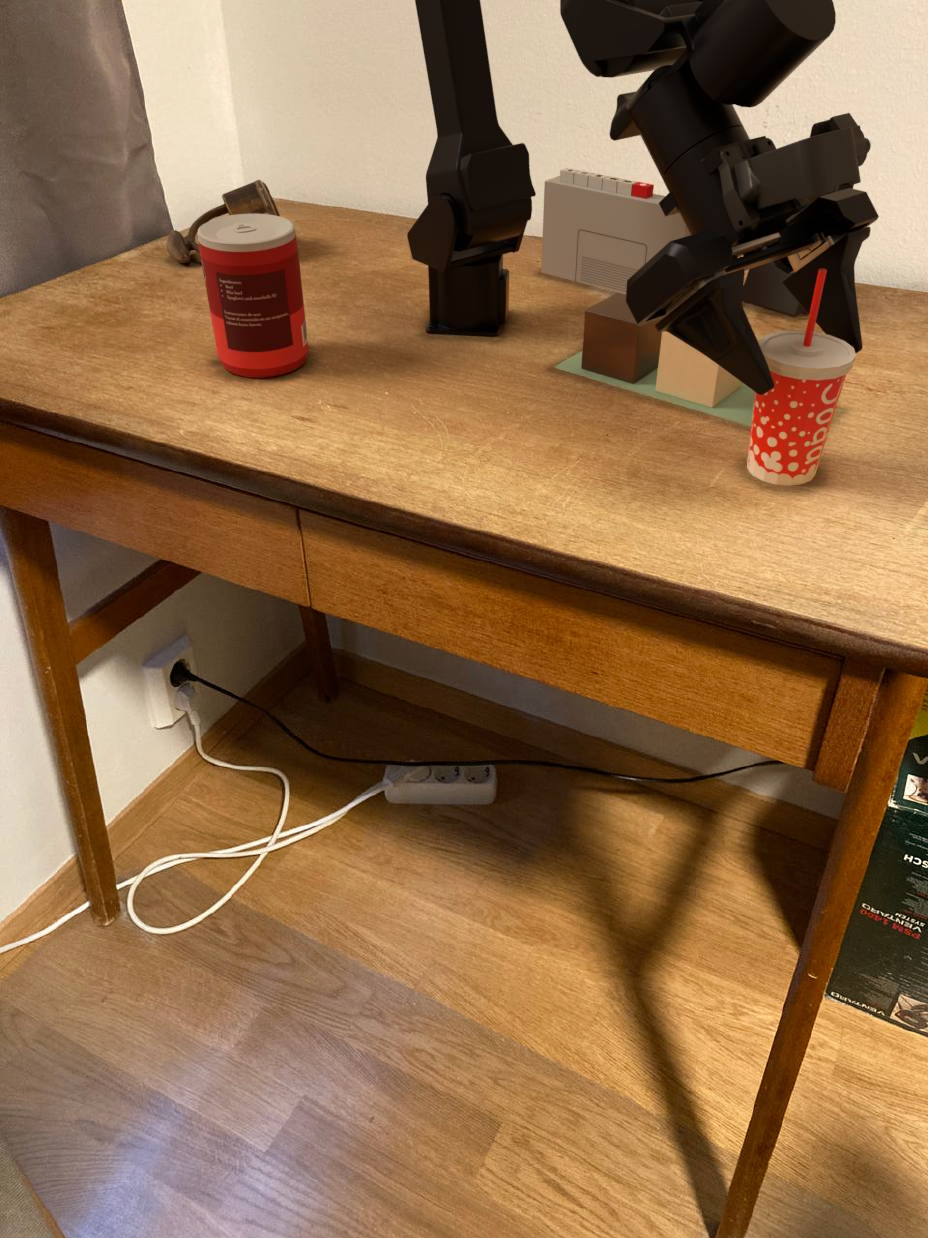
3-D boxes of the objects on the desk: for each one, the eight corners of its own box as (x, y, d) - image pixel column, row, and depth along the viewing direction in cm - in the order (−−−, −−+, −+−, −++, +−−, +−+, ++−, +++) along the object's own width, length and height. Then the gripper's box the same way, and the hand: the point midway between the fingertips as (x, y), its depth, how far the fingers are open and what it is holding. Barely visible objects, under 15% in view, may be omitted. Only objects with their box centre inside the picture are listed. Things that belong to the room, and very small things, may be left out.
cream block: (655, 391, 79) (662, 329, 76) (685, 369, 82) (693, 310, 79) (712, 408, 77) (722, 345, 74) (741, 385, 80) (752, 325, 77)
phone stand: (793, 320, 91) (820, 180, 84) (737, 302, 95) (759, 167, 87) (845, 295, 96) (875, 161, 89) (791, 279, 100) (815, 150, 92)
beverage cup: (771, 502, 66) (815, 293, 58) (717, 461, 71) (750, 261, 62) (845, 482, 68) (898, 277, 60) (788, 444, 73) (829, 248, 64)
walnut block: (580, 368, 83) (584, 309, 80) (612, 349, 86) (617, 291, 83) (633, 384, 80) (639, 323, 77) (664, 363, 83) (671, 304, 80)
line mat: (553, 370, 83) (553, 366, 83) (598, 343, 87) (599, 340, 87) (798, 444, 73) (799, 440, 72) (836, 410, 77) (837, 406, 77)
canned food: (273, 334, 90) (256, 206, 83) (328, 360, 85) (316, 227, 78) (200, 359, 86) (176, 227, 79) (254, 387, 81) (234, 249, 74)
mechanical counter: (280, 216, 100) (294, 168, 106) (151, 204, 99) (172, 156, 106) (284, 281, 105) (297, 231, 112) (162, 270, 105) (182, 220, 111)
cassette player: (689, 302, 95) (704, 191, 89) (675, 310, 93) (689, 198, 87) (556, 267, 103) (561, 164, 97) (541, 274, 101) (545, 169, 95)
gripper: (683, 88, 53) (817, 351, 53) (887, 49, 62) (1001, 273, 62) (572, 211, 63) (685, 433, 62) (763, 162, 72) (861, 356, 71)
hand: (813, 371), depth 64 cm, fingers open, 9 cm apart
